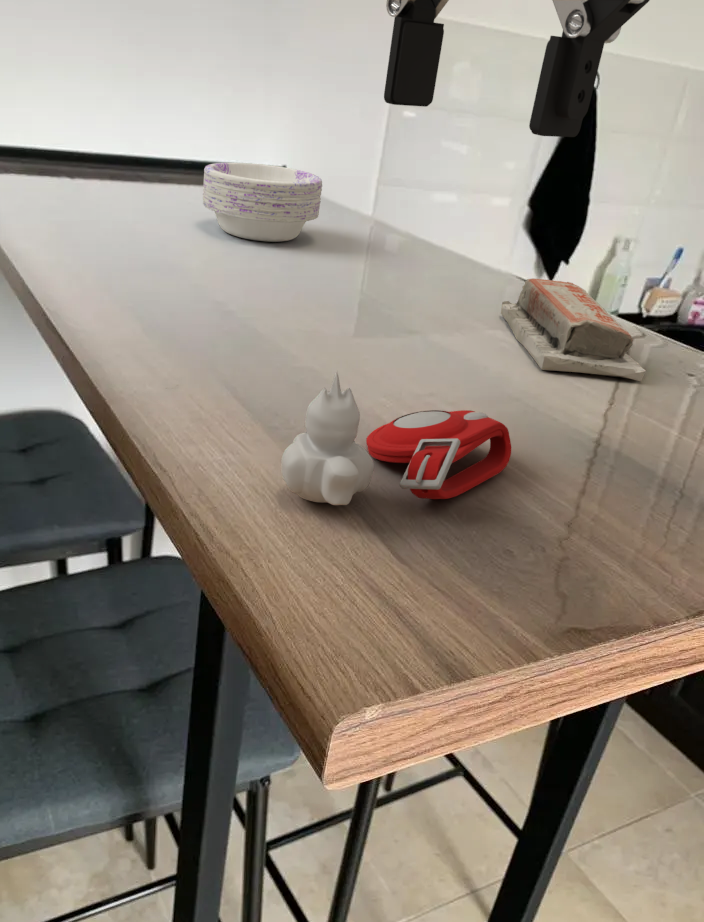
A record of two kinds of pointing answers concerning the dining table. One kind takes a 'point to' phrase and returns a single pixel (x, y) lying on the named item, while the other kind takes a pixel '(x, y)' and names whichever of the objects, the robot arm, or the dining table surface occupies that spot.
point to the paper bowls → (261, 199)
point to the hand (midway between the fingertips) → (475, 118)
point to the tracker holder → (441, 450)
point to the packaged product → (570, 331)
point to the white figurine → (328, 451)
